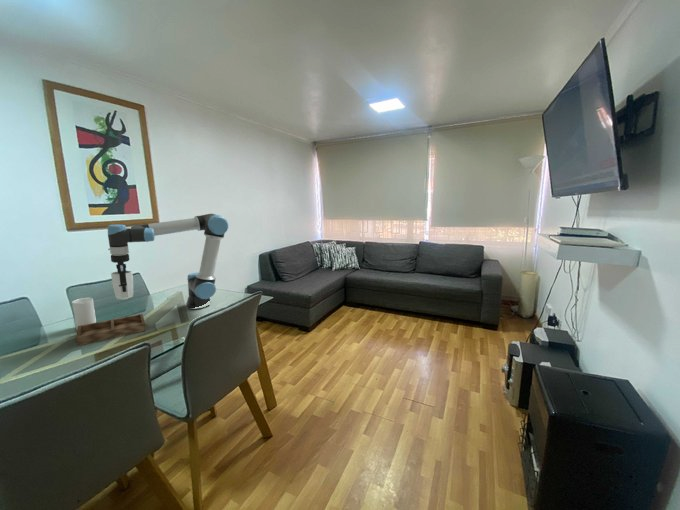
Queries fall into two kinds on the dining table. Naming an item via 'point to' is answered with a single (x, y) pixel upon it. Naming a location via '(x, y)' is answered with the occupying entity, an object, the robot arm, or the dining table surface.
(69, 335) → the dining table surface
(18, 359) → the dining table surface
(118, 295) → the cup
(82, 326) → the tray
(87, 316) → the cup
